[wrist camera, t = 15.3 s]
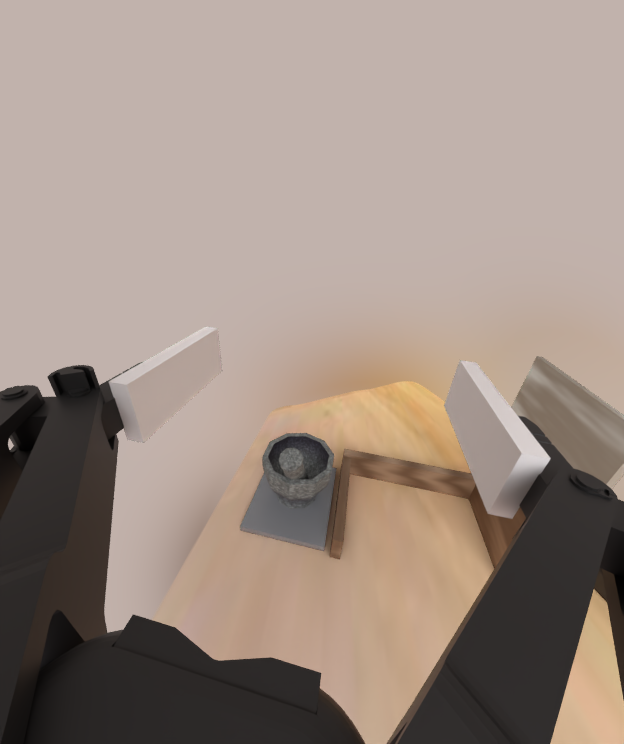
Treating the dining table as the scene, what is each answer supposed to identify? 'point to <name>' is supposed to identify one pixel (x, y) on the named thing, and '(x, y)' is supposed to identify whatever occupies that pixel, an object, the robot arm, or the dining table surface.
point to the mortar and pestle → (297, 468)
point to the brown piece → (545, 409)
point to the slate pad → (289, 517)
